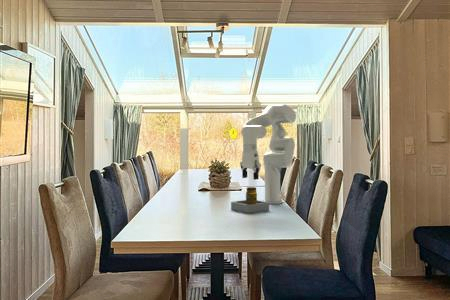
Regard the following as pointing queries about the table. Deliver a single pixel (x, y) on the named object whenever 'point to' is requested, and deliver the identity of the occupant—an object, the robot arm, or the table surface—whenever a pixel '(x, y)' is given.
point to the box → (249, 206)
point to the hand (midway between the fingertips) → (250, 178)
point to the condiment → (251, 196)
